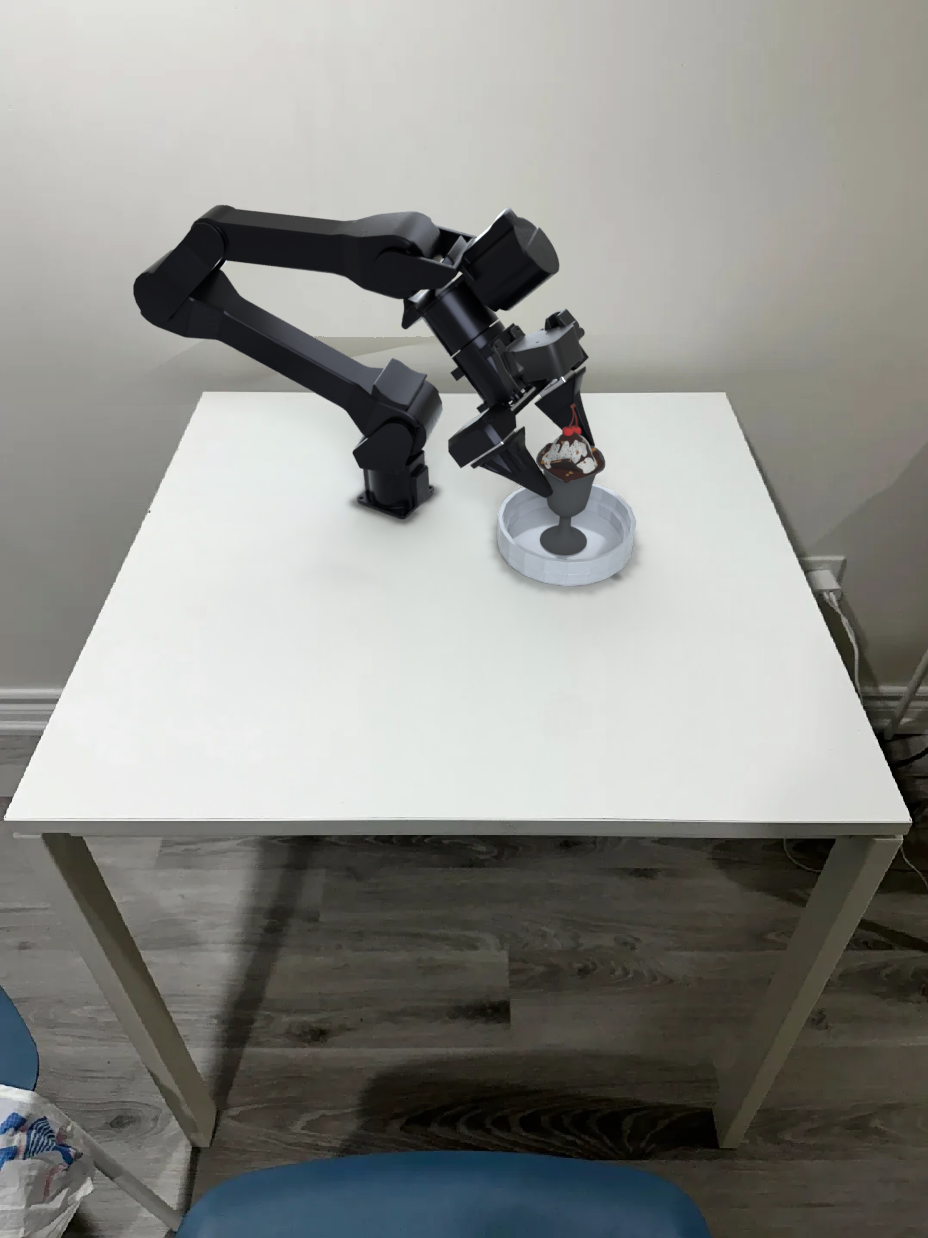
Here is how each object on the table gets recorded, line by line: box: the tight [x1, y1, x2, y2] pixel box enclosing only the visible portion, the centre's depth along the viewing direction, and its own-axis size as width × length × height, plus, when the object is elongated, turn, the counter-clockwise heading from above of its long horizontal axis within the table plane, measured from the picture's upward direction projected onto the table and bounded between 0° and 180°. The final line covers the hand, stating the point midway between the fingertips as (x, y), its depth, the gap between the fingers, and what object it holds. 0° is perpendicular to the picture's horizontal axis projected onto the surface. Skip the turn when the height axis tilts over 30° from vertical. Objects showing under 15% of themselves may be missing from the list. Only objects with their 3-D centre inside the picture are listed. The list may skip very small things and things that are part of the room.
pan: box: [496, 482, 637, 587], centre depth 92 cm, size 14×14×4 cm
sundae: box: [535, 404, 606, 555], centre depth 88 cm, size 7×7×15 cm
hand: (571, 471), depth 87 cm, fingers open, 9 cm apart
